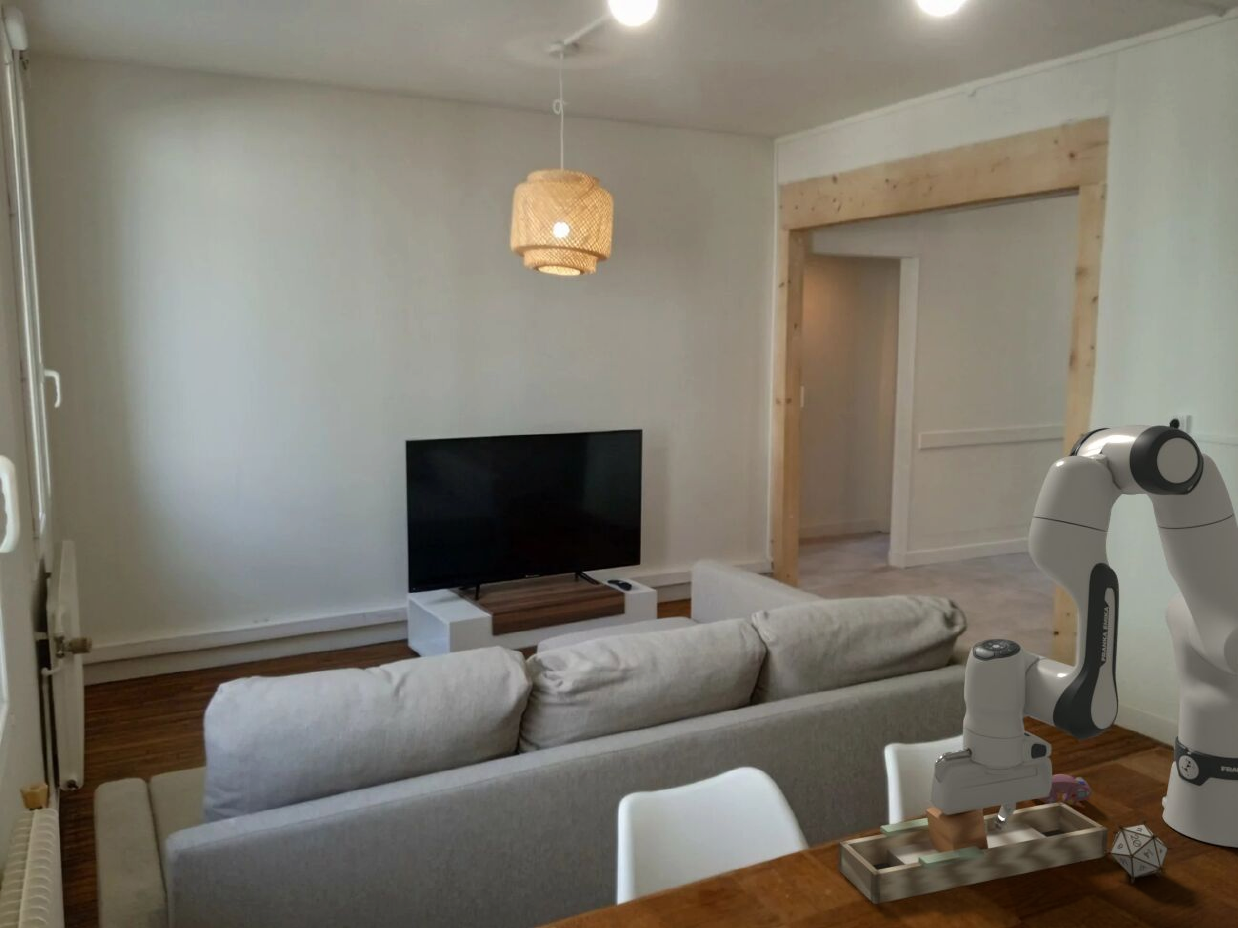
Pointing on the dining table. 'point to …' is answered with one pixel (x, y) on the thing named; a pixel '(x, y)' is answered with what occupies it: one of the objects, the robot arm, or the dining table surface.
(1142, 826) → the game die
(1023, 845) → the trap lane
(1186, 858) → the dining table surface
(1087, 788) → the video game controller
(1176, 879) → the dining table surface
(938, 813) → the block
